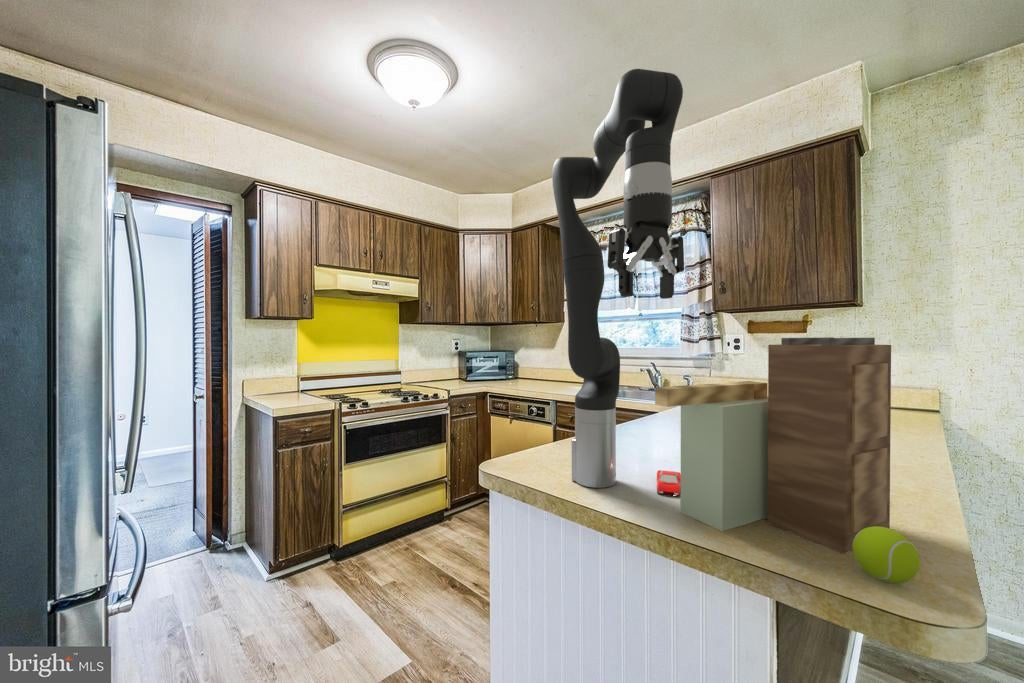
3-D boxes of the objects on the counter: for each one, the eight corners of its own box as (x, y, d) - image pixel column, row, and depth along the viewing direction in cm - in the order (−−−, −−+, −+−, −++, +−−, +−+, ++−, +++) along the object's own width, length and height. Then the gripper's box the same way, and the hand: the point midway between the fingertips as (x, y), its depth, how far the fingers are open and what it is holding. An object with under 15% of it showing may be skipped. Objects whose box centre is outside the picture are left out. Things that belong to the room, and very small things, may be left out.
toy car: (681, 499, 89) (681, 484, 89) (655, 496, 90) (655, 481, 90) (680, 481, 100) (680, 467, 100) (657, 478, 102) (657, 465, 102)
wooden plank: (669, 407, 73) (669, 389, 73) (653, 403, 77) (653, 387, 77) (767, 398, 82) (767, 383, 82) (748, 395, 86) (748, 381, 86)
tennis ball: (933, 590, 56) (934, 538, 56) (892, 597, 55) (892, 543, 55) (878, 563, 63) (878, 516, 63) (839, 568, 62) (840, 520, 62)
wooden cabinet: (846, 554, 66) (848, 338, 65) (767, 523, 77) (768, 337, 76) (892, 535, 72) (894, 337, 71) (813, 508, 83) (814, 337, 82)
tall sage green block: (722, 531, 74) (722, 406, 73) (680, 512, 82) (680, 399, 81) (779, 513, 81) (780, 399, 80) (736, 497, 89) (736, 394, 88)
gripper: (662, 209, 76) (661, 300, 77) (597, 198, 70) (597, 297, 70) (697, 197, 70) (696, 297, 70) (629, 184, 63) (628, 294, 64)
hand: (646, 297), depth 70 cm, fingers open, 8 cm apart
